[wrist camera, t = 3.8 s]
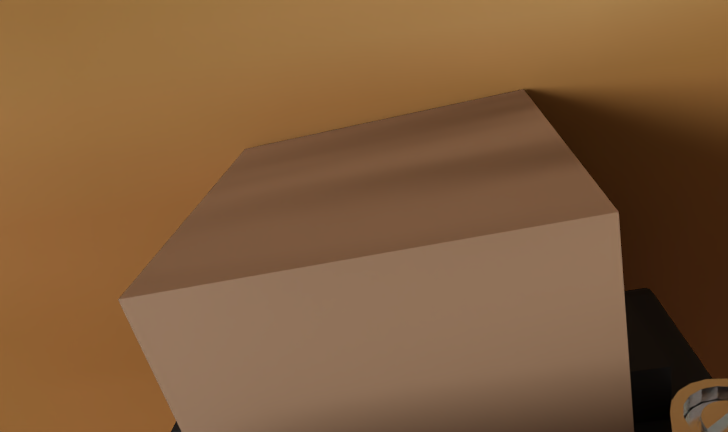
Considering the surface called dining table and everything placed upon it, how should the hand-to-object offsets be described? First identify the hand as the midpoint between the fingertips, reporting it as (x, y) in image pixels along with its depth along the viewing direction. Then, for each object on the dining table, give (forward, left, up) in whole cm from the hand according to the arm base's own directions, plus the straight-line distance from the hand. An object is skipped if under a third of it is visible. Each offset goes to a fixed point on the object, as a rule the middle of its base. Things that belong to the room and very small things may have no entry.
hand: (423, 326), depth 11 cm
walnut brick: (0, 0, -1) cm, 1 cm away
